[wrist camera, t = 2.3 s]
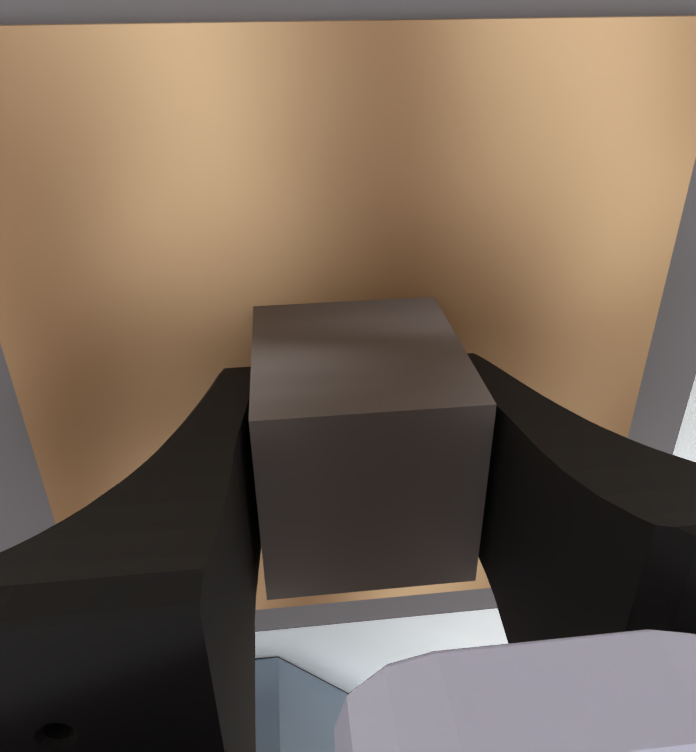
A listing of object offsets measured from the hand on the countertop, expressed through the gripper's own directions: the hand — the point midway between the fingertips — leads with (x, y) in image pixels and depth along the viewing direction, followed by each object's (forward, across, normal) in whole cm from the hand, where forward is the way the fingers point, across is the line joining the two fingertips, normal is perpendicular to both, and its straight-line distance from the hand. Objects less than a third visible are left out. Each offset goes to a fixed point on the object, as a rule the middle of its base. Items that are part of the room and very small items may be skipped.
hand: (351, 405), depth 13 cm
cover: (+2, 0, 0) cm, 2 cm away
